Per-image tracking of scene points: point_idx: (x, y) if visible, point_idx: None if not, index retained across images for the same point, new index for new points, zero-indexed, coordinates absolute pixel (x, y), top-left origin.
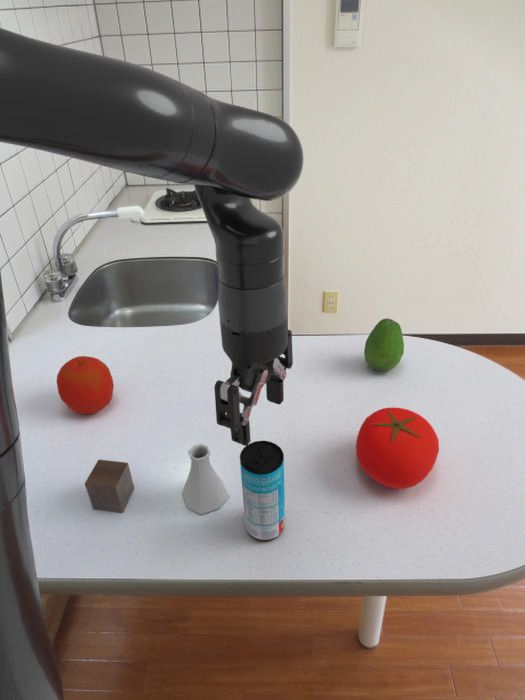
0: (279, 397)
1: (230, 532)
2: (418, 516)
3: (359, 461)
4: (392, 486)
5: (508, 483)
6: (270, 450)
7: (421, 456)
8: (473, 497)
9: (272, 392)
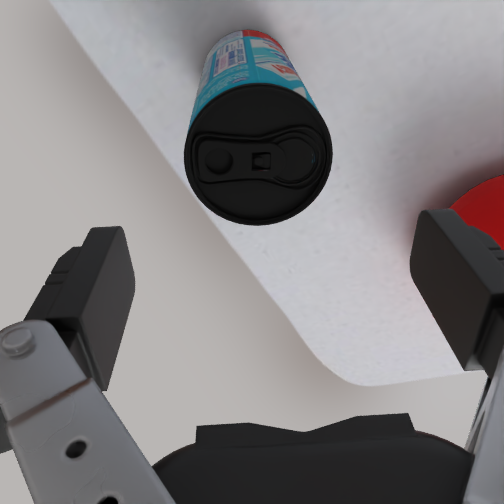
0: (425, 291)
1: (190, 10)
2: (390, 288)
3: (461, 210)
4: None
5: None
6: (297, 169)
7: None
8: None
9: (439, 272)
